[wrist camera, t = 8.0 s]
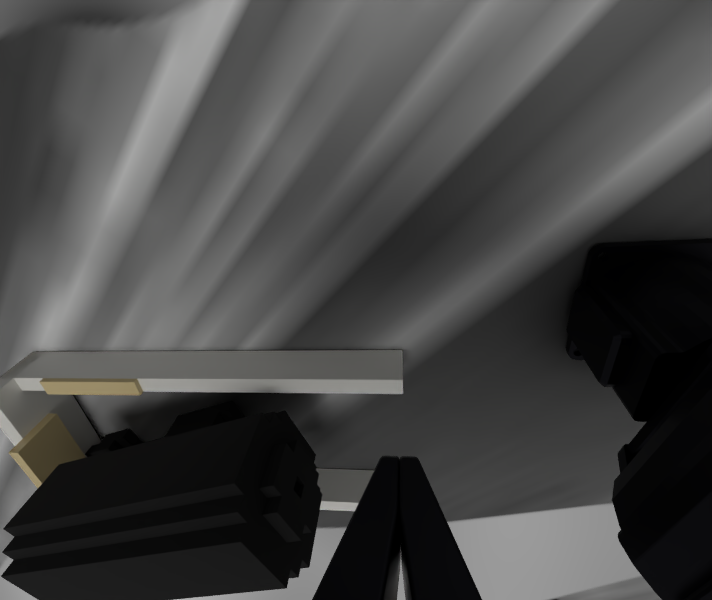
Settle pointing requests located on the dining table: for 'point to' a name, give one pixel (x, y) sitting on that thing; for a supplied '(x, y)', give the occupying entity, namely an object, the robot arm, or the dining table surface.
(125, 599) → the security camera
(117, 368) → the tester cradle
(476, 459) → the dining table surface
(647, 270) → the robot arm
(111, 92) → the dining table surface
